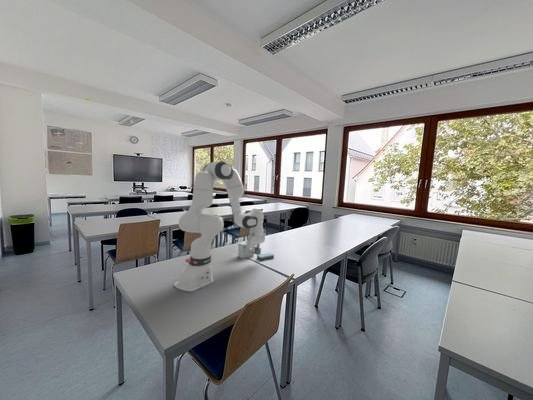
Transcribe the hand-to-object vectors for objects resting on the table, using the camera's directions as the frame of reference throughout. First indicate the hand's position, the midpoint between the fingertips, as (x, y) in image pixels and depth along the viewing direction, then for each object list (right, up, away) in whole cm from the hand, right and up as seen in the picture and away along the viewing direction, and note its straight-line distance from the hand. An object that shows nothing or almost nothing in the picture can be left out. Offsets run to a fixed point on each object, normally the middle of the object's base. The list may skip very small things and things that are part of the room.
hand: (255, 250), depth 158 cm
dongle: (-1, -2, +1) cm, 2 cm away
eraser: (+7, -9, +12) cm, 16 cm away
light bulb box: (-8, -8, +15) cm, 19 cm away
